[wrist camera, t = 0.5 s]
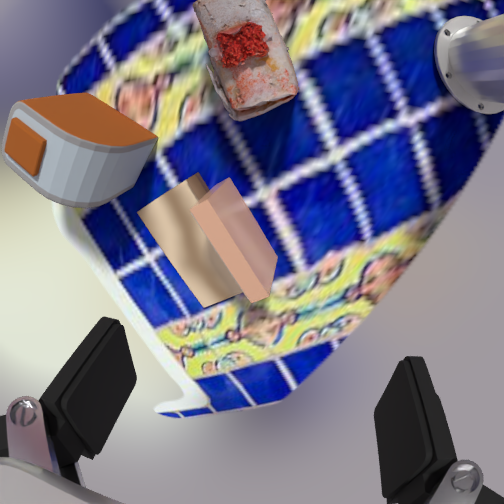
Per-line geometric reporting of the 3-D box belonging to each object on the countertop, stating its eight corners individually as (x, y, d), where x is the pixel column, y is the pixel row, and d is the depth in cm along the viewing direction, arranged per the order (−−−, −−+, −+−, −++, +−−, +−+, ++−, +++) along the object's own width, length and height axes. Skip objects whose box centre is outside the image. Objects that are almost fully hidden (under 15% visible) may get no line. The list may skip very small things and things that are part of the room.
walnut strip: (198, 172, 38) (195, 174, 37) (266, 280, 43) (265, 285, 42) (189, 177, 38) (186, 180, 37) (257, 284, 43) (256, 289, 42)
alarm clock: (61, 139, 38) (-6, 161, 26) (81, 88, 34) (9, 96, 22) (132, 189, 40) (70, 228, 28) (159, 136, 36) (94, 158, 24)
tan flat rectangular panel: (189, 177, 38) (187, 178, 38) (257, 284, 43) (256, 286, 43) (139, 210, 41) (136, 212, 41) (204, 305, 47) (203, 307, 46)
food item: (308, 100, 32) (309, 98, 23) (242, 121, 34) (219, 129, 25) (265, -2, 27) (250, -34, 18) (202, 23, 29) (167, 1, 20)
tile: (229, 177, 37) (207, 199, 29) (277, 257, 41) (269, 296, 33) (213, 186, 38) (187, 211, 30) (261, 264, 42) (249, 304, 34)
